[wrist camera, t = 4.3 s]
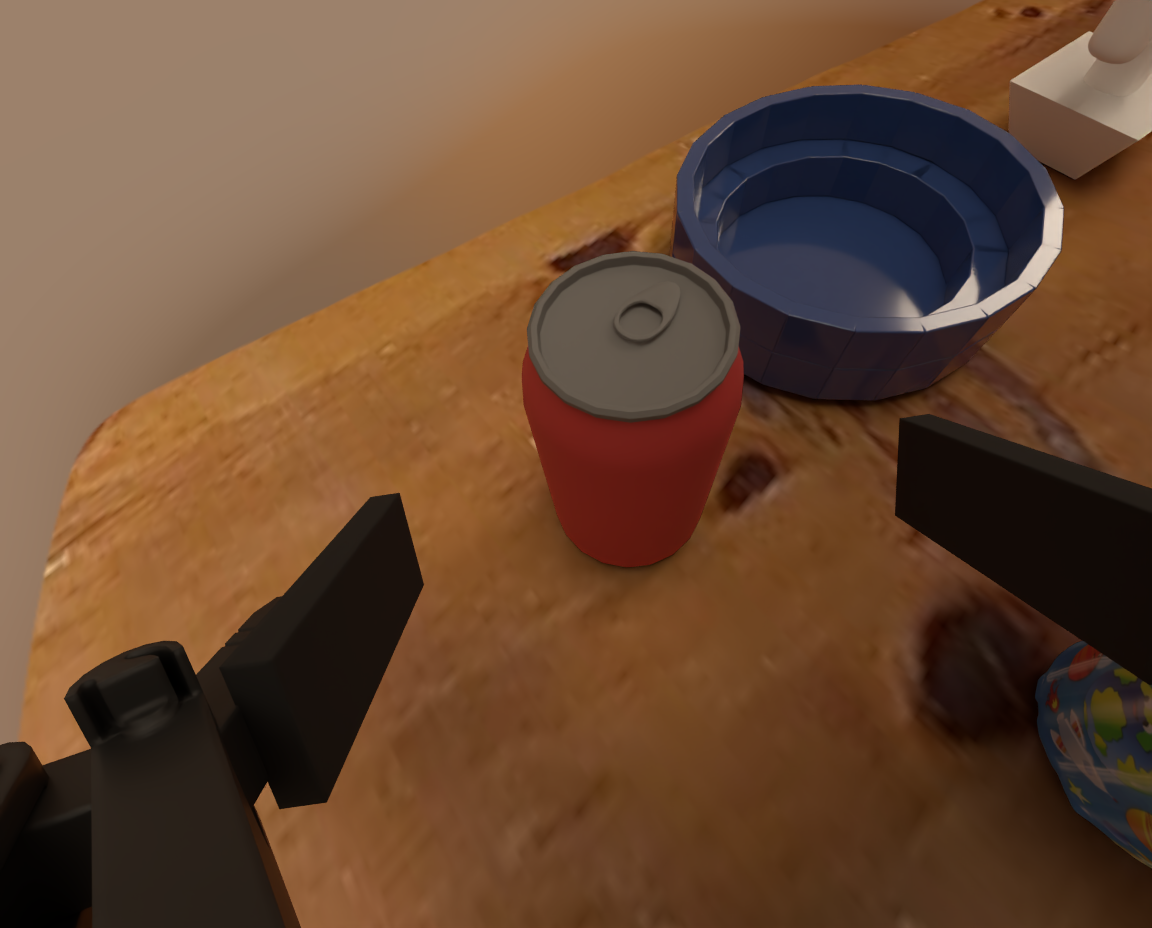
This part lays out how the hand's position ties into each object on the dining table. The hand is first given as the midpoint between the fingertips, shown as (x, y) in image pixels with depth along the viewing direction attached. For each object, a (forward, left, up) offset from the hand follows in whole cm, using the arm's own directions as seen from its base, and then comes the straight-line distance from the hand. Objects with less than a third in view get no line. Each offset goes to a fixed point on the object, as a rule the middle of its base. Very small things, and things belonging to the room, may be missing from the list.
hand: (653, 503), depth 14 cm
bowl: (+3, -20, -10) cm, 22 cm away
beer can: (+3, -3, -10) cm, 11 cm away
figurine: (-3, -38, -10) cm, 39 cm away
